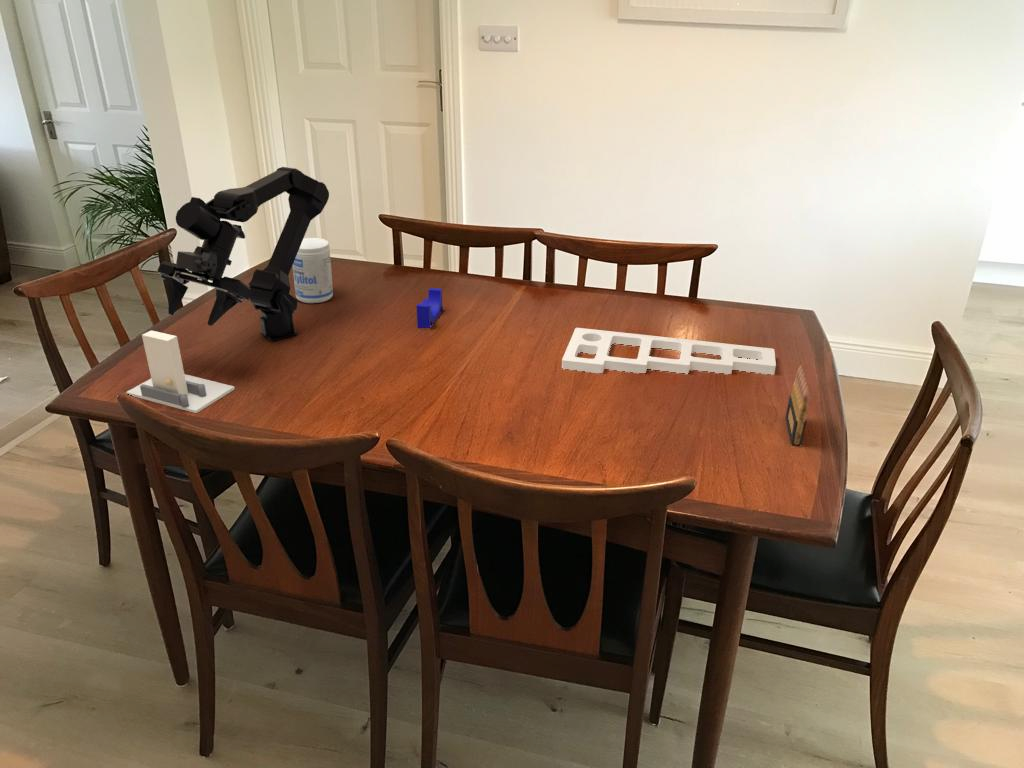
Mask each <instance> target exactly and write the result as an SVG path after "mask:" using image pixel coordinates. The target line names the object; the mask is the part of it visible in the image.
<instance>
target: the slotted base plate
mask: <svg viewBox="0 0 1024 768" xmlns="http://www.w3.org/2000/svg"><path fill="white" fill-rule="evenodd" d="M184 375H185V380H186V385H187V390H188V396H187V395H186V394H183V395H182V394H179V393H175V392H171V391H167V390H163V389H159V388H156V387H153V383H152V379H151V378H149V379H148V380H145V381H144V382H142V383H140V384H138V385H136V386H134V387H132V389H129V390H127V391H126V392H125V393H126V395H127V394H129V395H128V396H130V395H132V396H131V397H135V398H137V399H142V400H146V401H150V402H153V403H157V404H160V405H163V406H168V407H172V408H175V409H179V410H183V411H186V412H190V413H194V414H197V413H199V412H201V411H203V410H204V409H205V408H207V407H209V406H210V405H212V404H214V403H215V402H217V401H219V400H220V399H221V398H223V397H225V396H226V395H228V394H229V393H231V392H233V391H234V390H235V386H233V385H230V384H225V383H221V382H218V381H214V380H209V379H205V378H201V377H198V376H194V375H189V374H187V373H186V374H185V373H184Z"/></svg>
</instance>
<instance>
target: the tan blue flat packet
mask: <svg viewBox="0 0 1024 768" xmlns="http://www.w3.org/2000/svg"><path fill="white" fill-rule="evenodd" d="M809 389H810V388H809V386H808V381H807V378H806V374H805V370H804V367H803V364H800V365H799V367H798V369H797V372H796V374H795V377H794V381H793V385H792V388H791V394H790V395H789V397H788V402H787V403H788V404H787V406H786V412H785V423H786V422H787V423H786V427H787V428H786V429H787V433H788V432H789V433H788V437H790V438H789V442H790V441H791V443H790V445H791V444H792V445H791V446H794V445H802V446H803V440H804V435H805V430H806V425H807V414H808V405H809V399H810V390H809Z"/></svg>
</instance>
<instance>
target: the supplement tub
mask: <svg viewBox="0 0 1024 768" xmlns="http://www.w3.org/2000/svg"><path fill="white" fill-rule="evenodd" d="M331 261H332V260H331V250H330V244H329V241H328V240H327V239H323V238H319V237H304V238H303V241H302V243H301V246H300V248H299V250H298V253H297V255H296V258H295V260H294V263H293V265H292V275H293V285H294V291H295V292H294V294H295V297H296V298H295V299H297V300H298V301H300V302H301V303H305V304H315V303H316V304H319V303H324V302H327V301H329V300H331V299H332V298H333V295H334V290H333V289H334V288H333V275H332V273H333V272H332V262H331Z"/></svg>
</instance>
